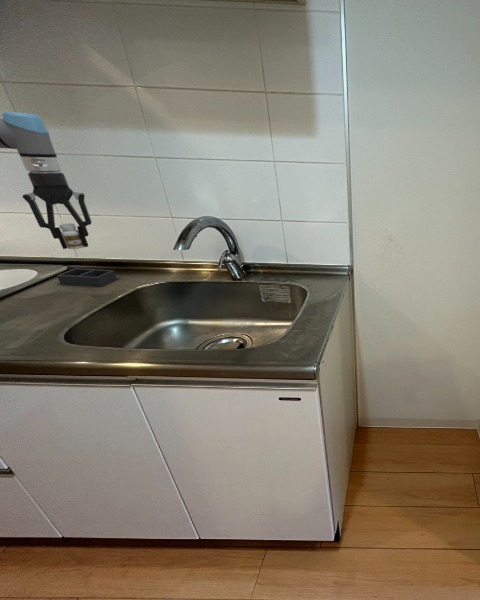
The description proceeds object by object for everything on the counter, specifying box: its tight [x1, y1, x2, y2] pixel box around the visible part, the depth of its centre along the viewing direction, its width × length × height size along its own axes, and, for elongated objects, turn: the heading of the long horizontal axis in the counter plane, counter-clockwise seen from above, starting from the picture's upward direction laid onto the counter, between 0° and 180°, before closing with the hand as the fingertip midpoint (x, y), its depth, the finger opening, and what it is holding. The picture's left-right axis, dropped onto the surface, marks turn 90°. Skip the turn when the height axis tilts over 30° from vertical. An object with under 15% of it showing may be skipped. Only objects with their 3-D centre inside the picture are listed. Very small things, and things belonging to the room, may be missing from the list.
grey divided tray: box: [56, 267, 118, 288], centre depth 112 cm, size 7×14×4 cm, turn 90°
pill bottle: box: [58, 223, 85, 250], centre depth 101 cm, size 4×4×8 cm
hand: (75, 246), depth 103 cm, fingers closed on pill bottle, 4 cm apart
